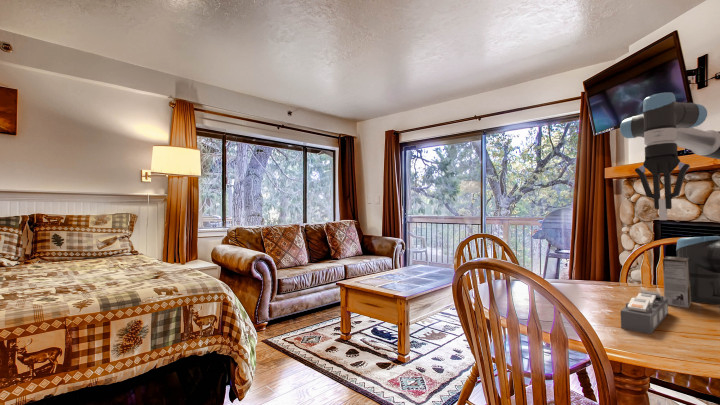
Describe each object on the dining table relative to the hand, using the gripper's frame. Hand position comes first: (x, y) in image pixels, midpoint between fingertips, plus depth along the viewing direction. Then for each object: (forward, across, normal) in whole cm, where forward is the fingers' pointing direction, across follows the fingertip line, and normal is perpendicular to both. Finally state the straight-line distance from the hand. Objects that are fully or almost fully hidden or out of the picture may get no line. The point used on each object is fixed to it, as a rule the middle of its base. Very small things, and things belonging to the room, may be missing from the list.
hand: (663, 219), depth 103 cm
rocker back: (+24, -4, +2) cm, 25 cm away
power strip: (+30, -4, -6) cm, 31 cm away
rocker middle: (+24, -4, -6) cm, 26 cm away
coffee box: (+31, 0, +24) cm, 39 cm away
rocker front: (+24, -4, -15) cm, 29 cm away
